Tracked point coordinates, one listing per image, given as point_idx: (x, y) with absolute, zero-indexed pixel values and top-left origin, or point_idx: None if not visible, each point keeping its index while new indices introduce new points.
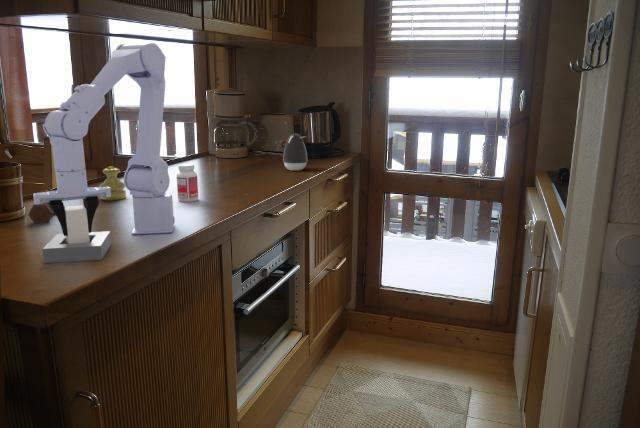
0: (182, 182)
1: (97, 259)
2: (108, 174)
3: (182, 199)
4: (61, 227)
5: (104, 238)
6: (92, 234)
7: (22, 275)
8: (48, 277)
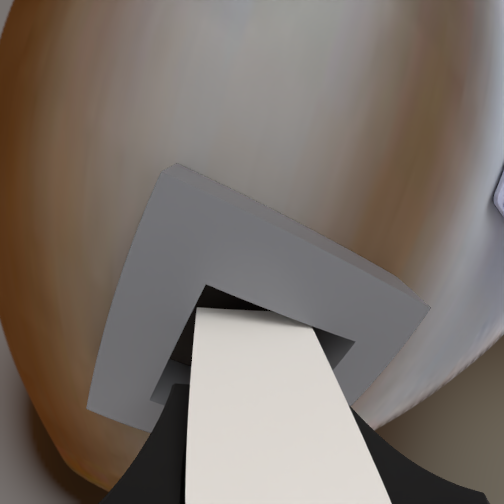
0: None
1: None
2: None
3: None
4: (162, 415)
5: (349, 404)
6: (348, 324)
7: (63, 413)
8: (126, 452)
